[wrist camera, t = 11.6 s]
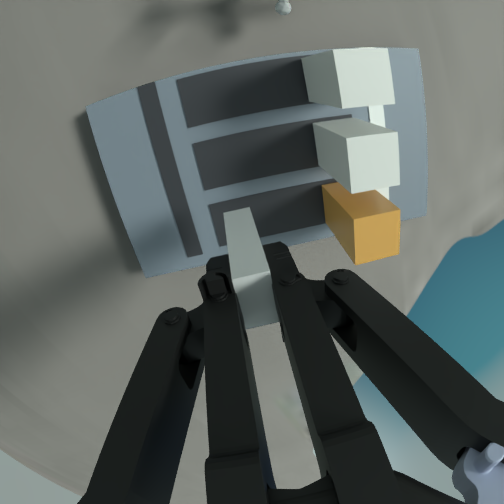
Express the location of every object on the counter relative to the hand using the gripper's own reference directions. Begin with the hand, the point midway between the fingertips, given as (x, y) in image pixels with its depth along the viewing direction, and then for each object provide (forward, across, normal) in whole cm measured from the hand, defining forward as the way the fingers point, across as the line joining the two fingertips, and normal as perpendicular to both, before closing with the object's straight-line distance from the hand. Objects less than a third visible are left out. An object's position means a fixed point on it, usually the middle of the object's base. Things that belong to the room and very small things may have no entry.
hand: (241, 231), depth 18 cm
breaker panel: (+7, +4, +3) cm, 8 cm away
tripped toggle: (+4, +8, -1) cm, 9 cm away
